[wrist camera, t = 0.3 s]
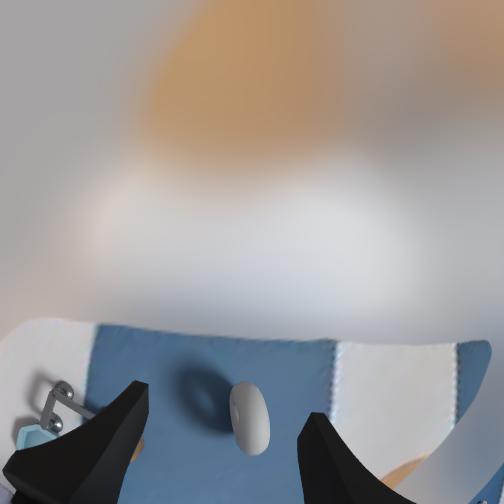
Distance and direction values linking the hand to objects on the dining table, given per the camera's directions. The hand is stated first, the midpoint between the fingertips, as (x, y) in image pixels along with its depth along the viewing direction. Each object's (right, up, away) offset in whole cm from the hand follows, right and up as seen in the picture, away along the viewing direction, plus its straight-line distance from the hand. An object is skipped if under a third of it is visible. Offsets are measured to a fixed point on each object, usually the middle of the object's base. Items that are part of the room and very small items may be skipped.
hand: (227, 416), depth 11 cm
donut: (-1, -16, +25) cm, 30 cm away
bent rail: (-23, -16, +19) cm, 34 cm away
